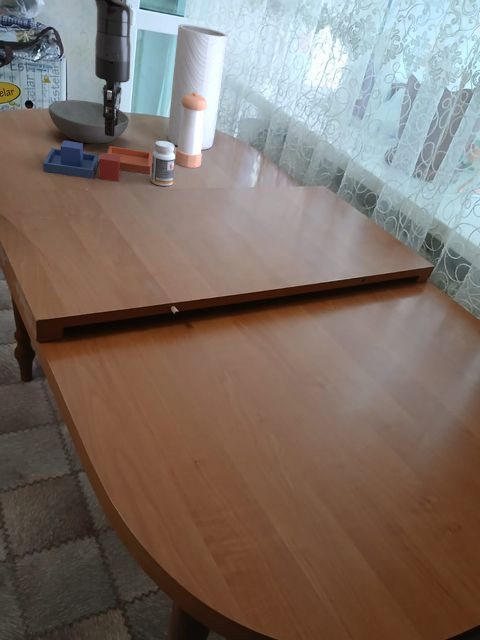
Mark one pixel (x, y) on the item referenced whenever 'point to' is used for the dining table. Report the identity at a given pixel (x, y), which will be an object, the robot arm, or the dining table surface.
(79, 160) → the blue block
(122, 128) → the bowl
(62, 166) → the blue tray
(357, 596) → the dining table surface
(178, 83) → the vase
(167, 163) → the pill bottle
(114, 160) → the red block
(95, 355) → the dining table surface
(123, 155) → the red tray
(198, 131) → the salt shaker
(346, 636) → the dining table surface
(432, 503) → the dining table surface
